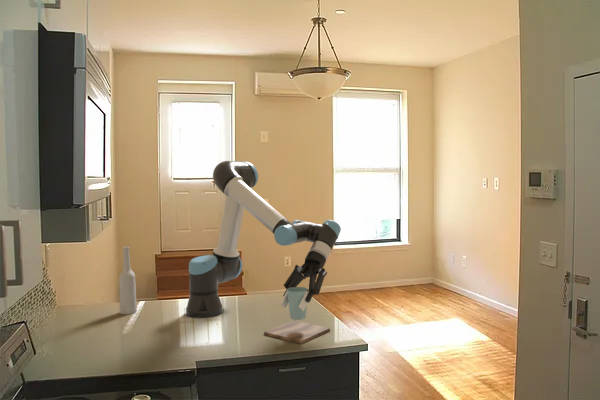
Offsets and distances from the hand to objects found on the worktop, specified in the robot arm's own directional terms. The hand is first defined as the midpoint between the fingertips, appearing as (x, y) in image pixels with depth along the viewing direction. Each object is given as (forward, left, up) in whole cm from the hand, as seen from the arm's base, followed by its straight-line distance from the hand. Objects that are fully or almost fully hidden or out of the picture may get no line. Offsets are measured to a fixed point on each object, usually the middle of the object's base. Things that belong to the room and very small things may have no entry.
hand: (291, 307), depth 175 cm
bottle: (-77, -17, -10) cm, 79 cm away
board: (0, +3, -10) cm, 11 cm away
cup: (0, +3, -5) cm, 6 cm away
